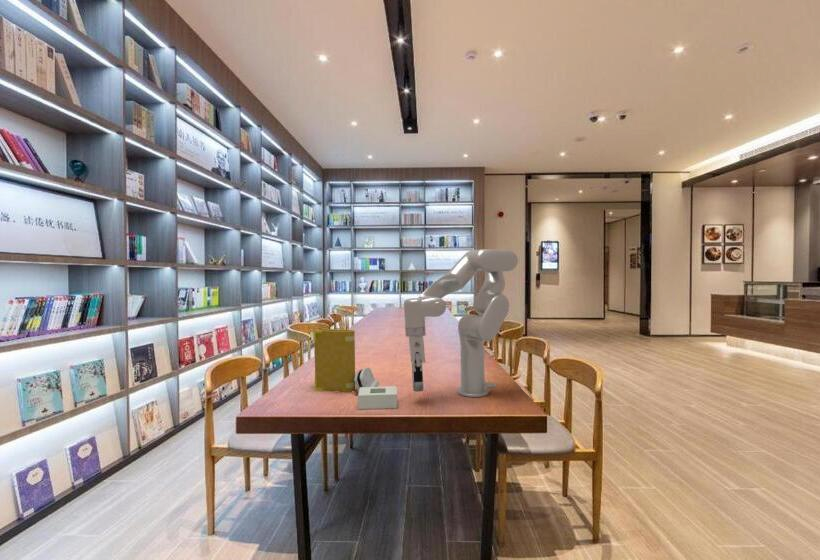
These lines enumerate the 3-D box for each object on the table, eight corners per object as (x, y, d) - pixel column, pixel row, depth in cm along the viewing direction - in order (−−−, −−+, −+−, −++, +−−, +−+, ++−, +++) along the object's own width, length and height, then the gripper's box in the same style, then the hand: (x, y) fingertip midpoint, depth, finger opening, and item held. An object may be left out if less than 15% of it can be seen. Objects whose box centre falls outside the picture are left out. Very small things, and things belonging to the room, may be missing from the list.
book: (314, 390, 159) (313, 330, 159) (323, 385, 166) (322, 328, 165) (350, 393, 154) (349, 332, 154) (358, 388, 160) (357, 329, 160)
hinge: (371, 396, 150) (362, 372, 150) (360, 400, 150) (351, 376, 151) (379, 384, 166) (371, 363, 167) (369, 387, 167) (361, 366, 167)
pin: (423, 387, 145) (422, 356, 144) (424, 391, 140) (423, 359, 140) (412, 388, 144) (410, 357, 144) (412, 392, 140) (411, 360, 140)
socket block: (396, 399, 146) (396, 386, 146) (397, 408, 136) (397, 394, 136) (360, 400, 146) (360, 387, 146) (358, 409, 136) (358, 395, 136)
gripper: (427, 334, 134) (430, 386, 134) (423, 327, 150) (425, 373, 151) (406, 336, 133) (409, 387, 134) (404, 328, 150) (406, 374, 150)
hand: (417, 379), depth 142 cm, fingers closed on pin, 4 cm apart
